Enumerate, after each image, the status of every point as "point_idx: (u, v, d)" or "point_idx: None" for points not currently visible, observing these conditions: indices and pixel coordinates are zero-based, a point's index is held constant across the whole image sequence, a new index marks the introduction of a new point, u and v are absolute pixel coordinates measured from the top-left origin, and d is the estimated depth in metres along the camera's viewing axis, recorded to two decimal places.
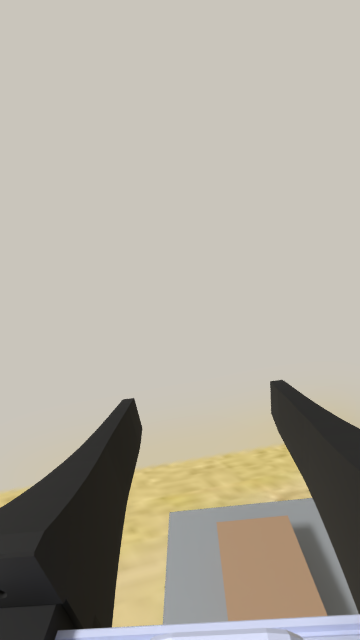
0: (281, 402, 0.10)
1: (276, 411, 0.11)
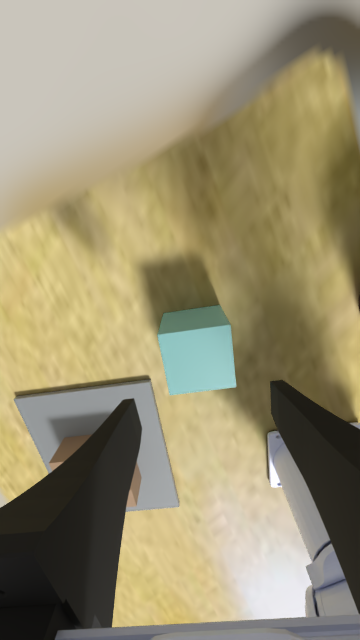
0: (281, 402, 0.10)
1: (276, 411, 0.11)
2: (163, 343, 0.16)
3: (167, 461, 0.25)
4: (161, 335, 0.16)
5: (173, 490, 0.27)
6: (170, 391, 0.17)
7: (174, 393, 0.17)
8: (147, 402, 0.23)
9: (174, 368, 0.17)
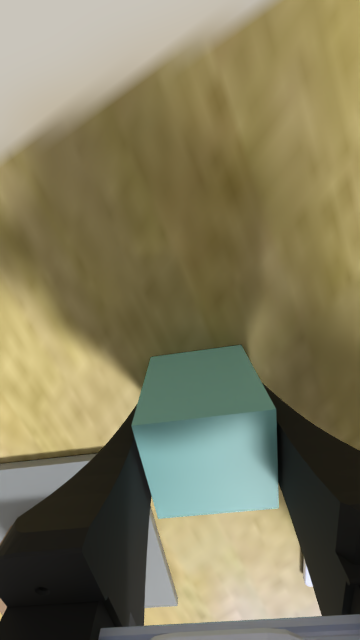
0: None
1: None
2: (144, 440, 0.08)
3: (160, 554, 0.18)
4: (139, 426, 0.08)
5: (169, 587, 0.19)
6: (159, 513, 0.10)
7: (166, 516, 0.10)
8: None
9: (166, 479, 0.09)
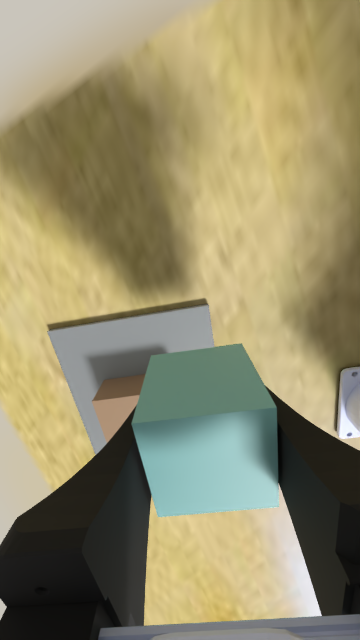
0: None
1: None
2: (144, 438, 0.08)
3: None
4: (139, 424, 0.08)
5: None
6: (159, 511, 0.10)
7: (166, 514, 0.10)
8: (204, 332, 0.20)
9: (166, 478, 0.09)
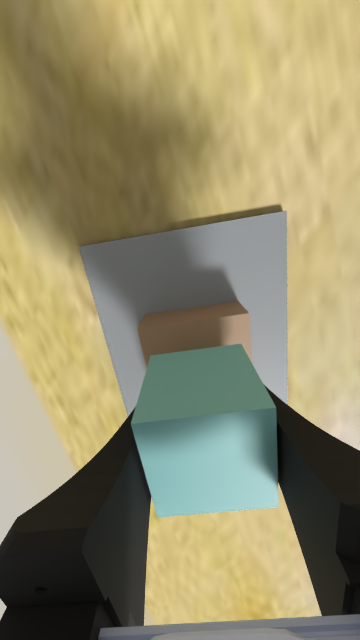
0: None
1: None
2: (143, 438, 0.08)
3: (285, 354, 0.18)
4: (139, 424, 0.08)
5: (285, 402, 0.20)
6: (158, 512, 0.10)
7: (165, 515, 0.10)
8: (276, 249, 0.16)
9: (166, 478, 0.09)
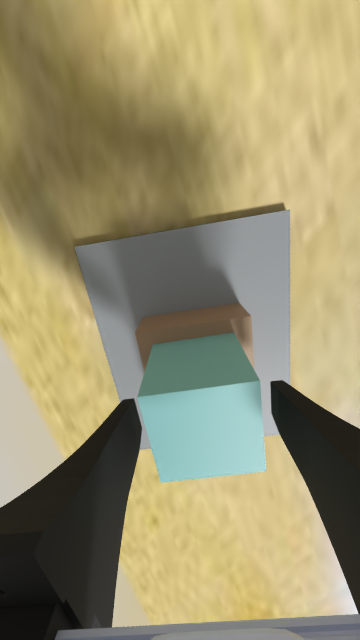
0: (281, 402, 0.10)
1: (276, 411, 0.11)
2: (147, 410, 0.10)
3: (288, 357, 0.18)
4: (144, 398, 0.09)
5: None
6: (161, 477, 0.11)
7: (168, 480, 0.11)
8: (278, 249, 0.15)
9: (167, 446, 0.10)
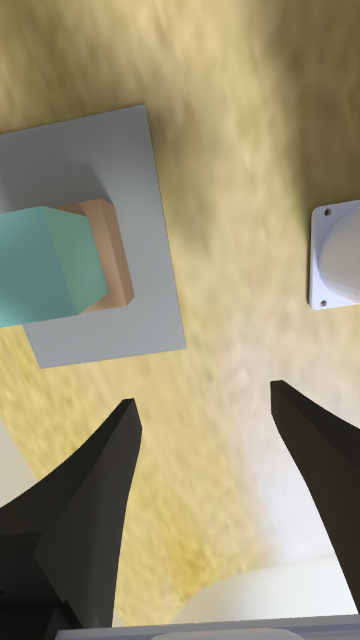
0: (281, 402, 0.10)
1: (276, 411, 0.11)
2: None
3: (170, 265, 0.18)
4: None
5: (178, 319, 0.20)
6: None
7: None
8: (141, 147, 0.16)
9: None
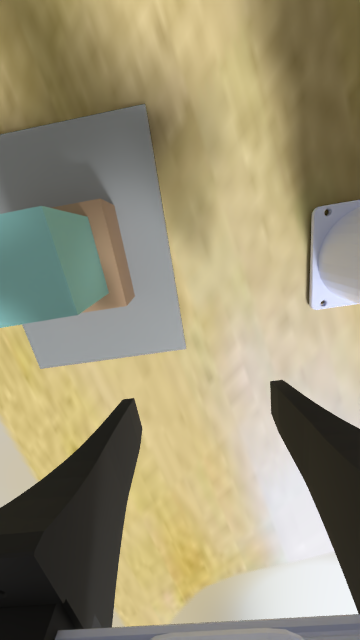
0: (281, 402, 0.10)
1: (276, 411, 0.11)
2: None
3: (170, 265, 0.18)
4: None
5: (178, 319, 0.20)
6: None
7: None
8: (141, 147, 0.16)
9: None
